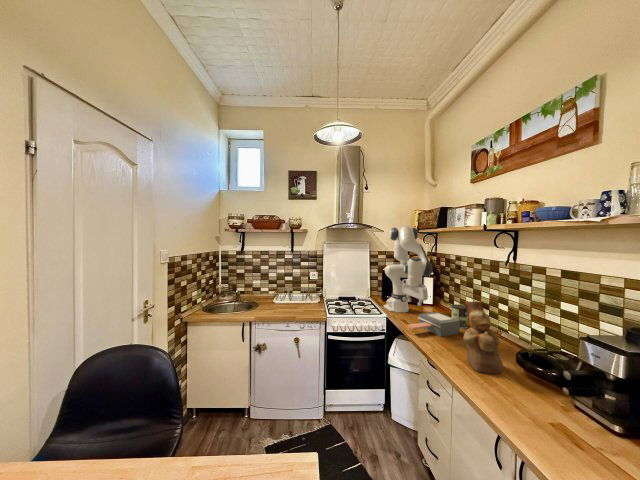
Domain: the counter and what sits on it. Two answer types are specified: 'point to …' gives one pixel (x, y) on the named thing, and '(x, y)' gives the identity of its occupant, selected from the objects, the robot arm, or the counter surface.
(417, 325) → the ticket
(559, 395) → the counter surface
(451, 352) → the counter surface
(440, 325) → the dispenser
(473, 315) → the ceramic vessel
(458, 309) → the coffee can
